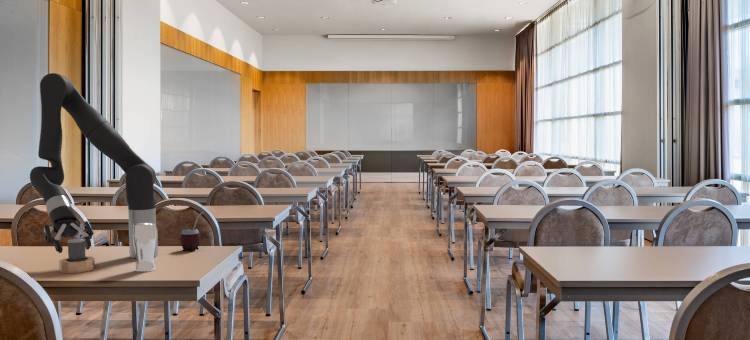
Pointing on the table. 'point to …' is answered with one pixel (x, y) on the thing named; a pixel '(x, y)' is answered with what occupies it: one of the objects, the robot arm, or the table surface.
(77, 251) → the plug
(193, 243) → the mate gourd
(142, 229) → the beer glass
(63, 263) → the wooden polygonal ring
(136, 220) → the robot arm
